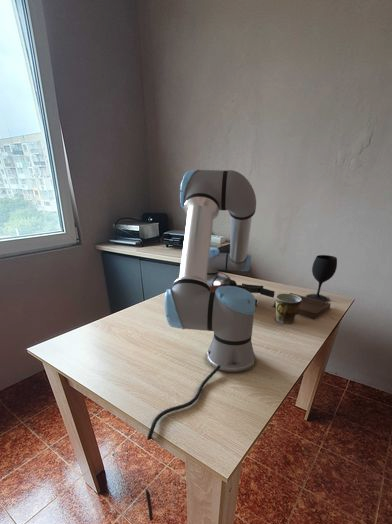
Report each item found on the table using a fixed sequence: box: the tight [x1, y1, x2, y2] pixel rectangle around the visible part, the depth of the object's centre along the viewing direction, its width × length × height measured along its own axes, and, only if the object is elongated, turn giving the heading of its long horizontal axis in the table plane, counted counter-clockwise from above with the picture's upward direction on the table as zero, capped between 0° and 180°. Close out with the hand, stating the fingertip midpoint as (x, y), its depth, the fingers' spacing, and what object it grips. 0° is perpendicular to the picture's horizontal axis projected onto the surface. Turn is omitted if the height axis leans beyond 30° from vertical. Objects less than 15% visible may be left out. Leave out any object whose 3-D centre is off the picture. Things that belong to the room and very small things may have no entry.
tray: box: [273, 292, 331, 321], centre depth 131 cm, size 16×20×3 cm
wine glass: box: [305, 254, 338, 303], centre depth 137 cm, size 10×10×20 cm
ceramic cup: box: [275, 293, 302, 325], centre depth 117 cm, size 13×10×10 cm
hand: (265, 298), depth 121 cm, fingers open, 13 cm apart
